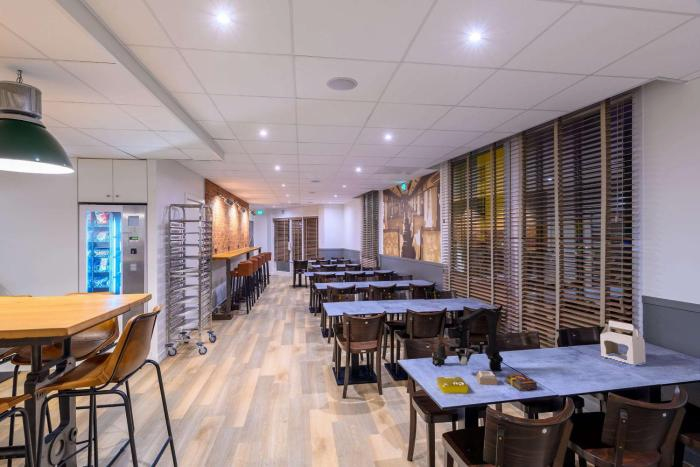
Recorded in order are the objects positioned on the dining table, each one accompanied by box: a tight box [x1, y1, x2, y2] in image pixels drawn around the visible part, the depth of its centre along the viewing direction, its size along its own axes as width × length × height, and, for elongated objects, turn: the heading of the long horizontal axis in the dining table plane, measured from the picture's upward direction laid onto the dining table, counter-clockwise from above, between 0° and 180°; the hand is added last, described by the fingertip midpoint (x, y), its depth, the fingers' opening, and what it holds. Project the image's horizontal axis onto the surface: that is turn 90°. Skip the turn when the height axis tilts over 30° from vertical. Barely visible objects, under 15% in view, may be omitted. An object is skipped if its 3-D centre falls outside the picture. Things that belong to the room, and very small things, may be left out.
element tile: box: [436, 376, 469, 394], centre depth 199 cm, size 15×15×5 cm
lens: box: [459, 353, 469, 366], centre depth 220 cm, size 5×5×6 cm
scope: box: [431, 343, 448, 367], centre depth 240 cm, size 8×14×10 cm
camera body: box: [476, 370, 498, 386], centre depth 207 cm, size 10×8×6 cm
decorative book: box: [503, 373, 538, 393], centre depth 201 cm, size 11×16×5 cm
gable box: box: [599, 320, 646, 365], centre depth 245 cm, size 22×13×28 cm, turn 20°
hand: (463, 361), depth 220 cm, fingers closed on lens, 5 cm apart
